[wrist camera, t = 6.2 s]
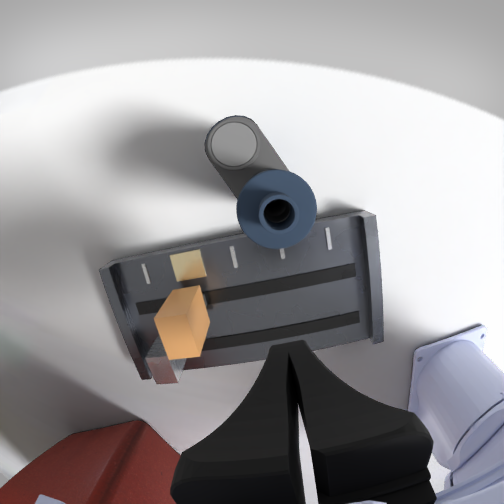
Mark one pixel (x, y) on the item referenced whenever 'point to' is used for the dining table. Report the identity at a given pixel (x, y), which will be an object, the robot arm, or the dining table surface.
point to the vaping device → (261, 184)
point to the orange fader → (183, 323)
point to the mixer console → (254, 294)
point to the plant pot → (99, 469)
